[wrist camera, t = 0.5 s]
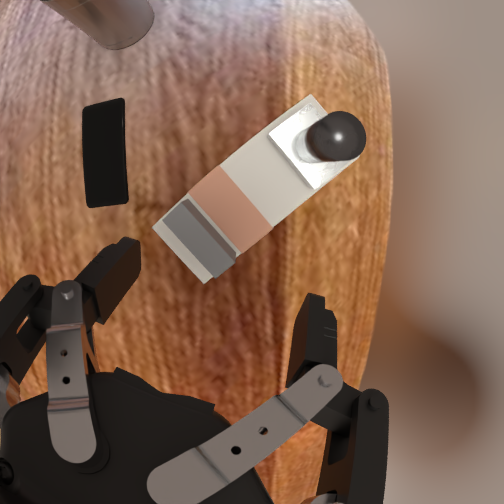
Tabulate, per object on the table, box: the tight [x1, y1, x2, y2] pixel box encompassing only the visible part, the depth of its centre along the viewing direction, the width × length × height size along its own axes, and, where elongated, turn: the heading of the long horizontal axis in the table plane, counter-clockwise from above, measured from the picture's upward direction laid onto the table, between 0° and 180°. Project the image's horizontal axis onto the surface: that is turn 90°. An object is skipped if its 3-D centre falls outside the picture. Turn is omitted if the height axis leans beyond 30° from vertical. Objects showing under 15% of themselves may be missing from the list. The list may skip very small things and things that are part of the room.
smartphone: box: [82, 98, 129, 208], centre depth 34 cm, size 7×1×15 cm
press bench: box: [152, 94, 360, 284], centre depth 33 cm, size 26×10×6 cm, turn 130°
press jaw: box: [267, 103, 366, 190], centre depth 26 cm, size 6×8×13 cm
